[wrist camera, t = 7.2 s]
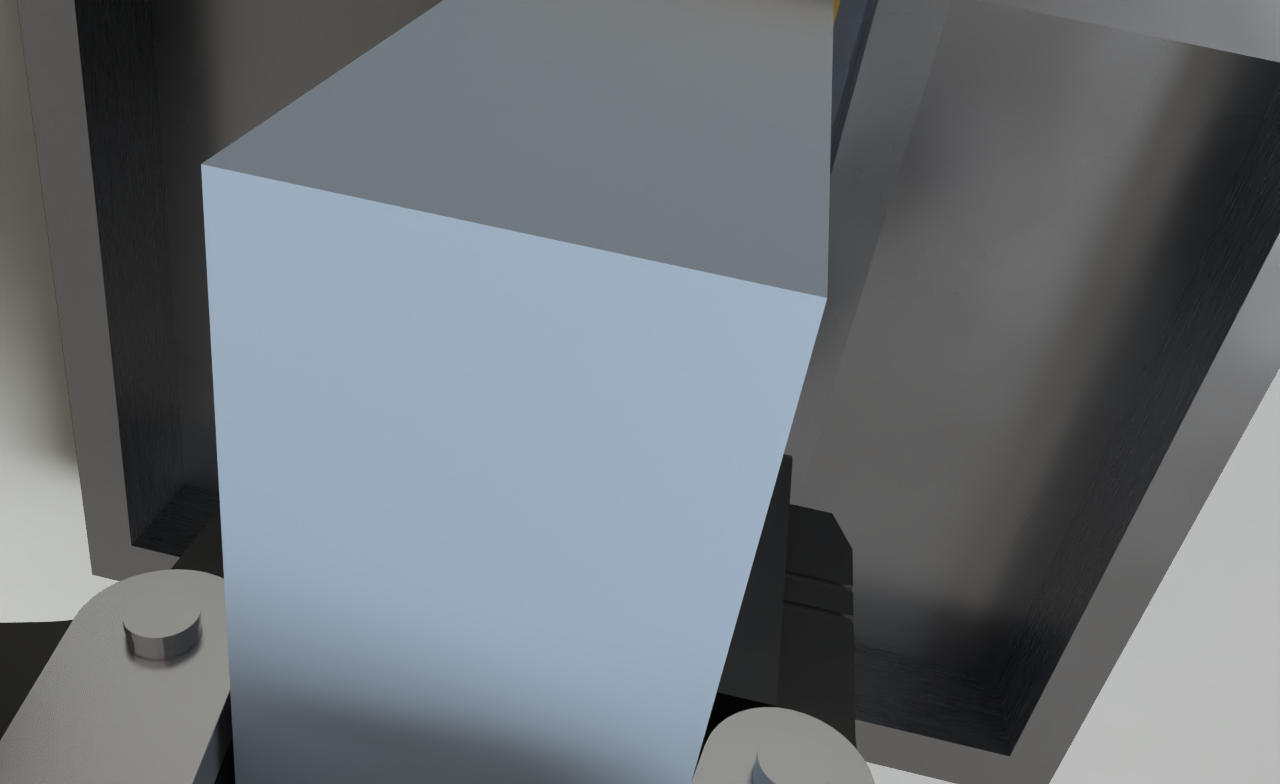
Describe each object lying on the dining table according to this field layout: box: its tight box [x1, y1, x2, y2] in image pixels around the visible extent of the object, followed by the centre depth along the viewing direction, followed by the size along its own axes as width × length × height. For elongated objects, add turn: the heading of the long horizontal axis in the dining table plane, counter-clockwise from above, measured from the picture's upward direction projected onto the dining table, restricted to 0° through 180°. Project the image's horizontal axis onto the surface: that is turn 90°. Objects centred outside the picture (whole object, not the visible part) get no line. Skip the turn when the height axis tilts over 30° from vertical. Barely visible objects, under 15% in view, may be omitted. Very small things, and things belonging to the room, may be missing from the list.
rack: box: [17, 0, 1280, 784], centre depth 14 cm, size 12×15×3 cm
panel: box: [201, 0, 834, 784], centre depth 11 cm, size 9×3×8 cm, turn 171°
